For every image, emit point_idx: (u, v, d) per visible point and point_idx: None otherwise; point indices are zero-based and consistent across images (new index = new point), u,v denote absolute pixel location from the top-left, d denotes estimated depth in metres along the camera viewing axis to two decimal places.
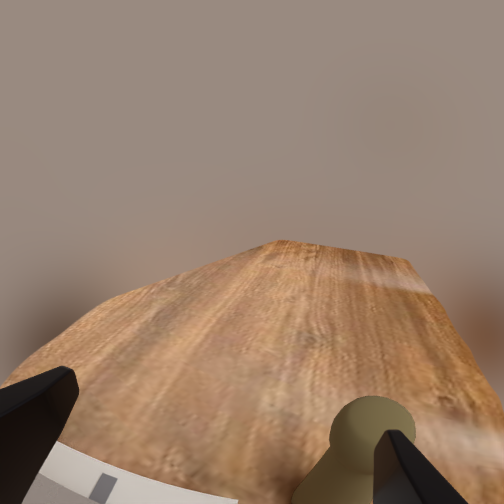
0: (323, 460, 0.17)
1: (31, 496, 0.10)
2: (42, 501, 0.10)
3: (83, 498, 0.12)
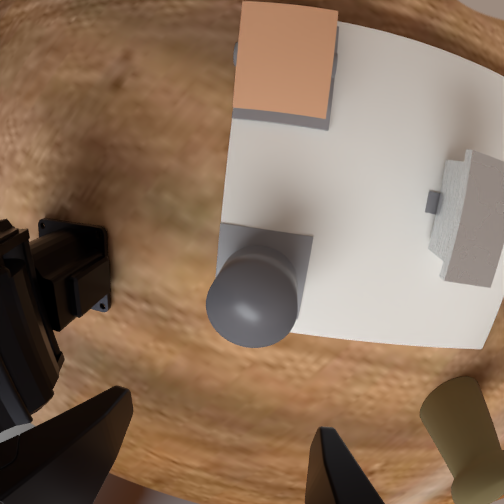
0: (489, 433, 0.15)
1: (489, 181, 0.11)
2: (487, 197, 0.11)
3: (500, 247, 0.12)
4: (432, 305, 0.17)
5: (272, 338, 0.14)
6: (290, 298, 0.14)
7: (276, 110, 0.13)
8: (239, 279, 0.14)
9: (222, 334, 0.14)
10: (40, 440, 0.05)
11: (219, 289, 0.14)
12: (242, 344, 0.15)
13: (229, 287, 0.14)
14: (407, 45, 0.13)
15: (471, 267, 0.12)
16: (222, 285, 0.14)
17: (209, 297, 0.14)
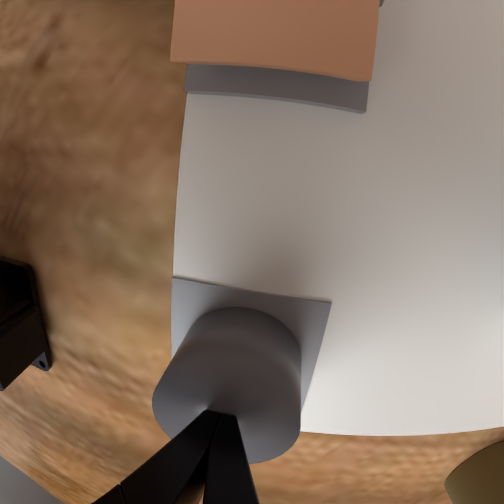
0: None
1: None
2: None
3: None
4: (492, 384, 0.10)
5: (259, 456, 0.08)
6: (288, 412, 0.07)
7: (262, 61, 0.05)
8: (201, 383, 0.07)
9: None
10: (148, 486, 0.04)
11: (170, 393, 0.08)
12: None
13: (185, 392, 0.07)
14: None
15: None
16: (174, 387, 0.07)
17: (157, 400, 0.08)
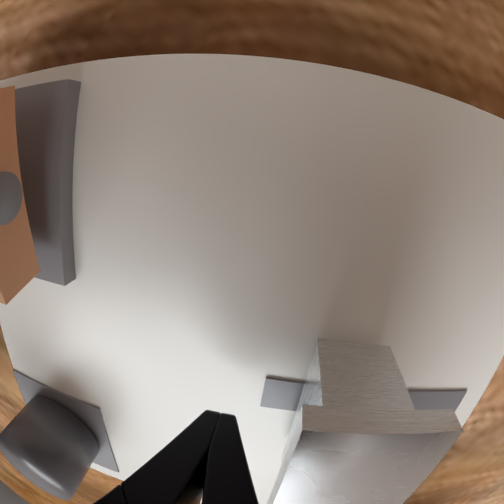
0: None
1: (353, 471, 0.05)
2: (344, 490, 0.05)
3: None
4: None
5: (61, 496, 0.09)
6: (54, 477, 0.08)
7: None
8: (10, 447, 0.08)
9: (25, 476, 0.09)
10: (150, 487, 0.04)
11: (3, 447, 0.08)
12: (43, 489, 0.09)
13: (7, 449, 0.08)
14: (218, 71, 0.07)
15: None
16: (2, 445, 0.08)
17: (0, 449, 0.09)
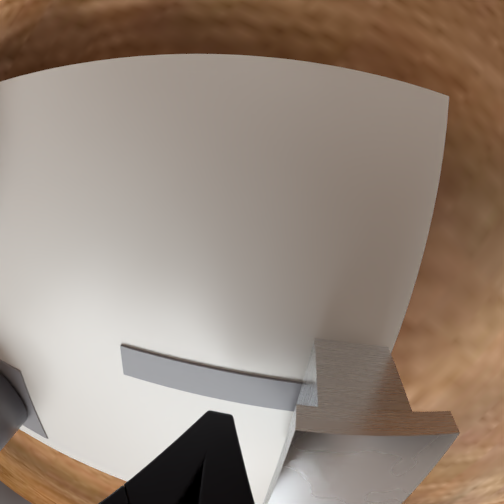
0: None
1: (347, 473, 0.05)
2: (339, 491, 0.05)
3: None
4: None
5: None
6: None
7: None
8: None
9: None
10: (153, 488, 0.04)
11: None
12: None
13: None
14: (65, 80, 0.07)
15: None
16: None
17: None
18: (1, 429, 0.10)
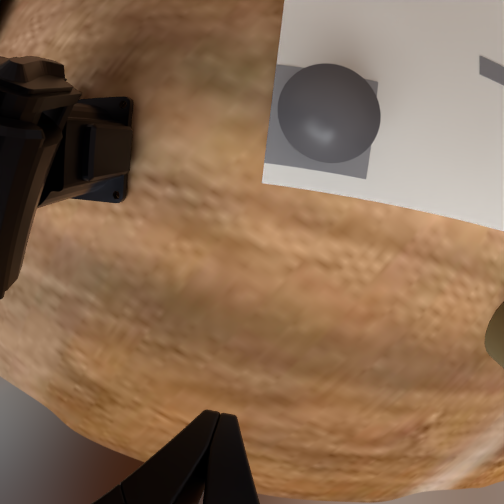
0: None
1: None
2: None
3: None
4: (501, 176, 0.14)
5: (354, 149, 0.12)
6: (371, 99, 0.11)
7: None
8: (317, 77, 0.11)
9: (295, 145, 0.12)
10: (148, 487, 0.04)
11: (294, 89, 0.11)
12: (319, 158, 0.12)
13: (305, 86, 0.11)
14: None
15: None
16: (298, 83, 0.11)
17: (283, 98, 0.11)
18: None
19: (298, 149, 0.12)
